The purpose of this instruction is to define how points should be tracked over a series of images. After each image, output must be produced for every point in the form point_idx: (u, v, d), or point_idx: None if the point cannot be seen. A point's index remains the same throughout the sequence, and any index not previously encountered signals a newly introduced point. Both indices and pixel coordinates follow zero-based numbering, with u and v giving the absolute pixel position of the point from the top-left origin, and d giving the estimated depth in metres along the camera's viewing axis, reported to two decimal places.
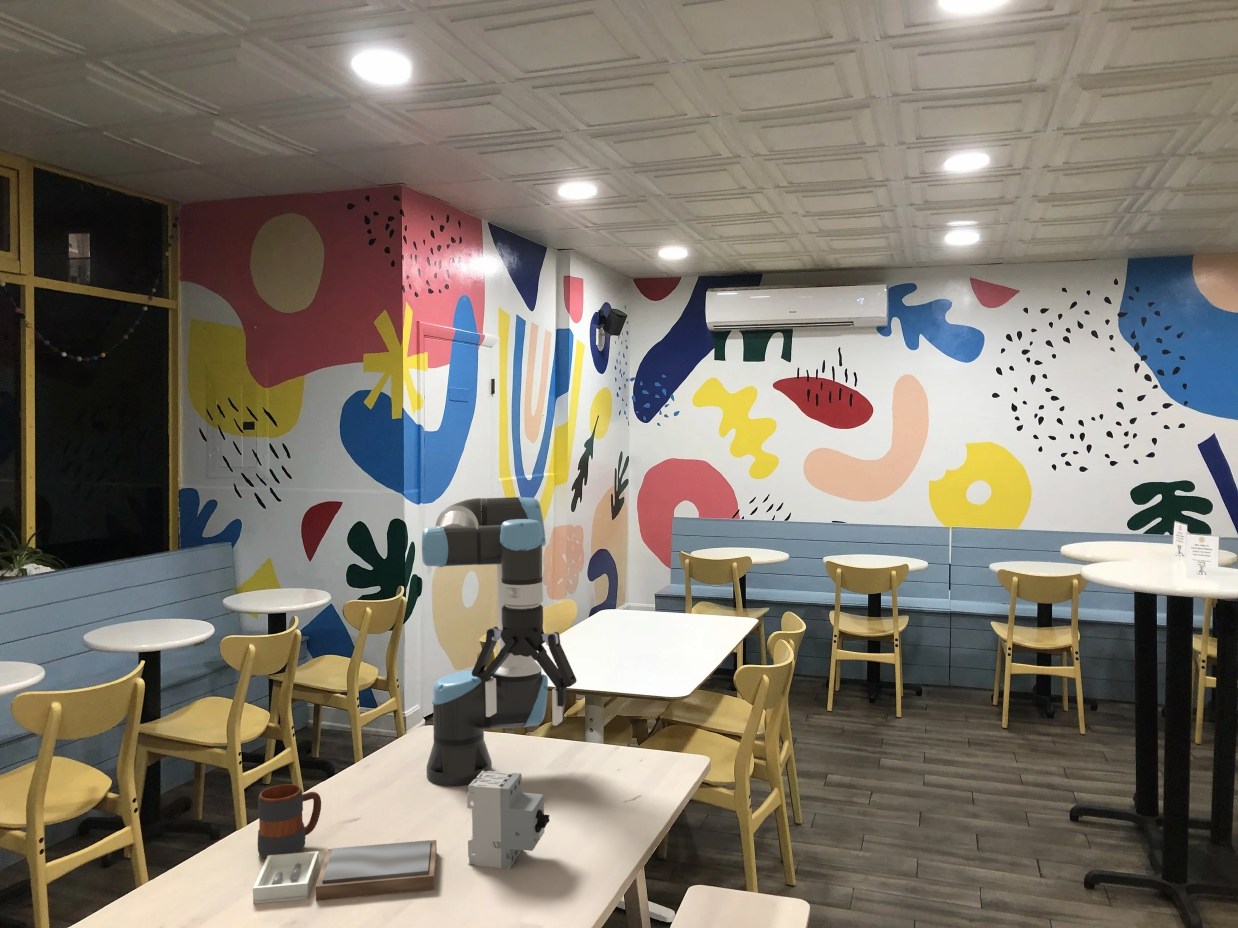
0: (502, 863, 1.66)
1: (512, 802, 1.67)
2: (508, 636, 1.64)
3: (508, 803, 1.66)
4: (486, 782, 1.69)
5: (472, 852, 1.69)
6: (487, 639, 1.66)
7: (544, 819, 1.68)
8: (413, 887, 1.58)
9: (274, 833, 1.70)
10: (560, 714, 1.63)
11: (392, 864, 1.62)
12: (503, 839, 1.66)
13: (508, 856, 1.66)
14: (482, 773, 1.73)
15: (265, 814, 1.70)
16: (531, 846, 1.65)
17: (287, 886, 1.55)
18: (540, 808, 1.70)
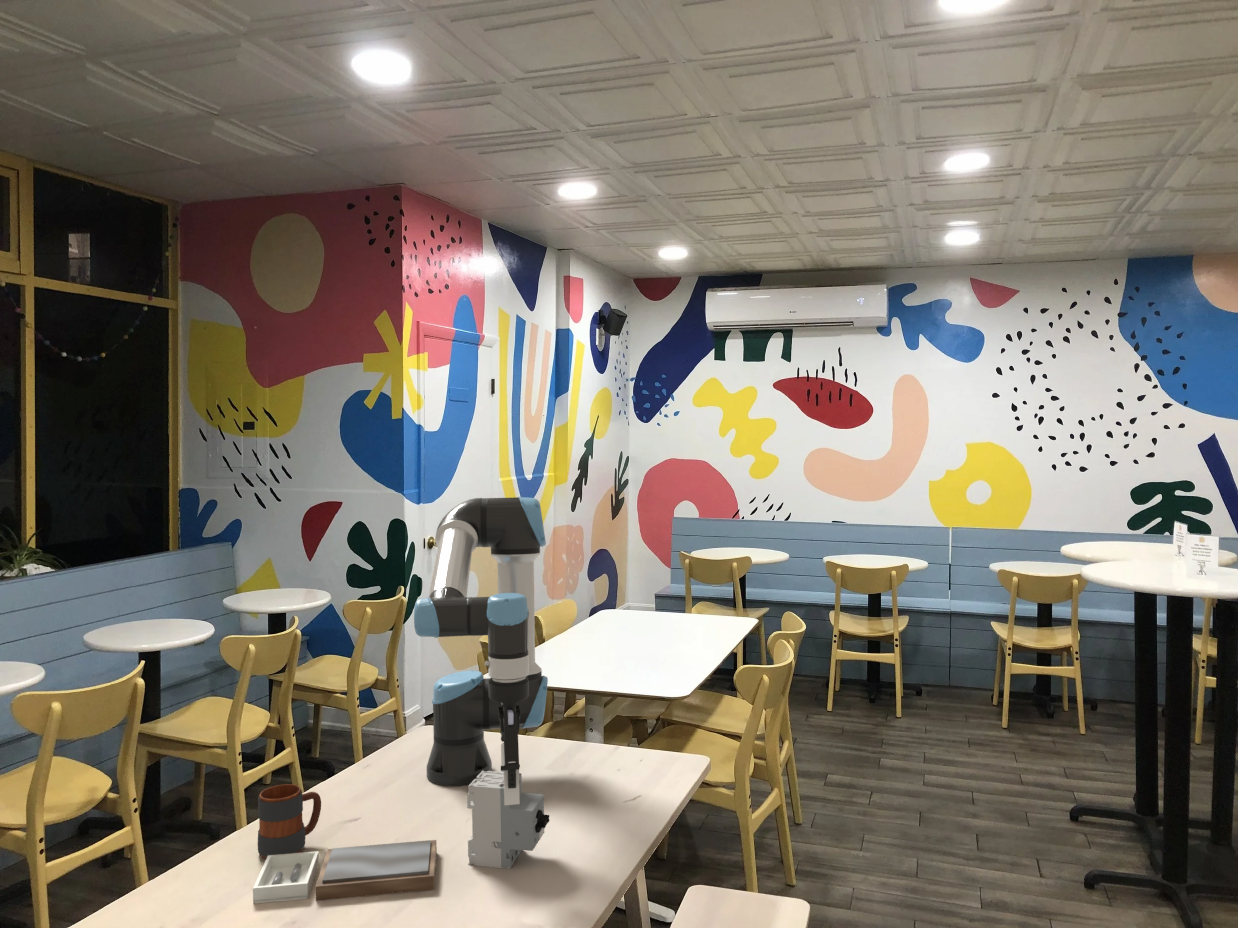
0: (502, 863, 1.66)
1: None
2: (502, 704, 1.71)
3: None
4: (486, 782, 1.69)
5: (472, 852, 1.69)
6: None
7: (544, 819, 1.68)
8: (413, 887, 1.58)
9: (274, 833, 1.70)
10: (514, 796, 1.62)
11: (392, 864, 1.62)
12: (503, 839, 1.66)
13: (508, 856, 1.66)
14: (482, 773, 1.73)
15: (265, 814, 1.70)
16: (531, 846, 1.65)
17: (287, 886, 1.55)
18: (540, 808, 1.70)
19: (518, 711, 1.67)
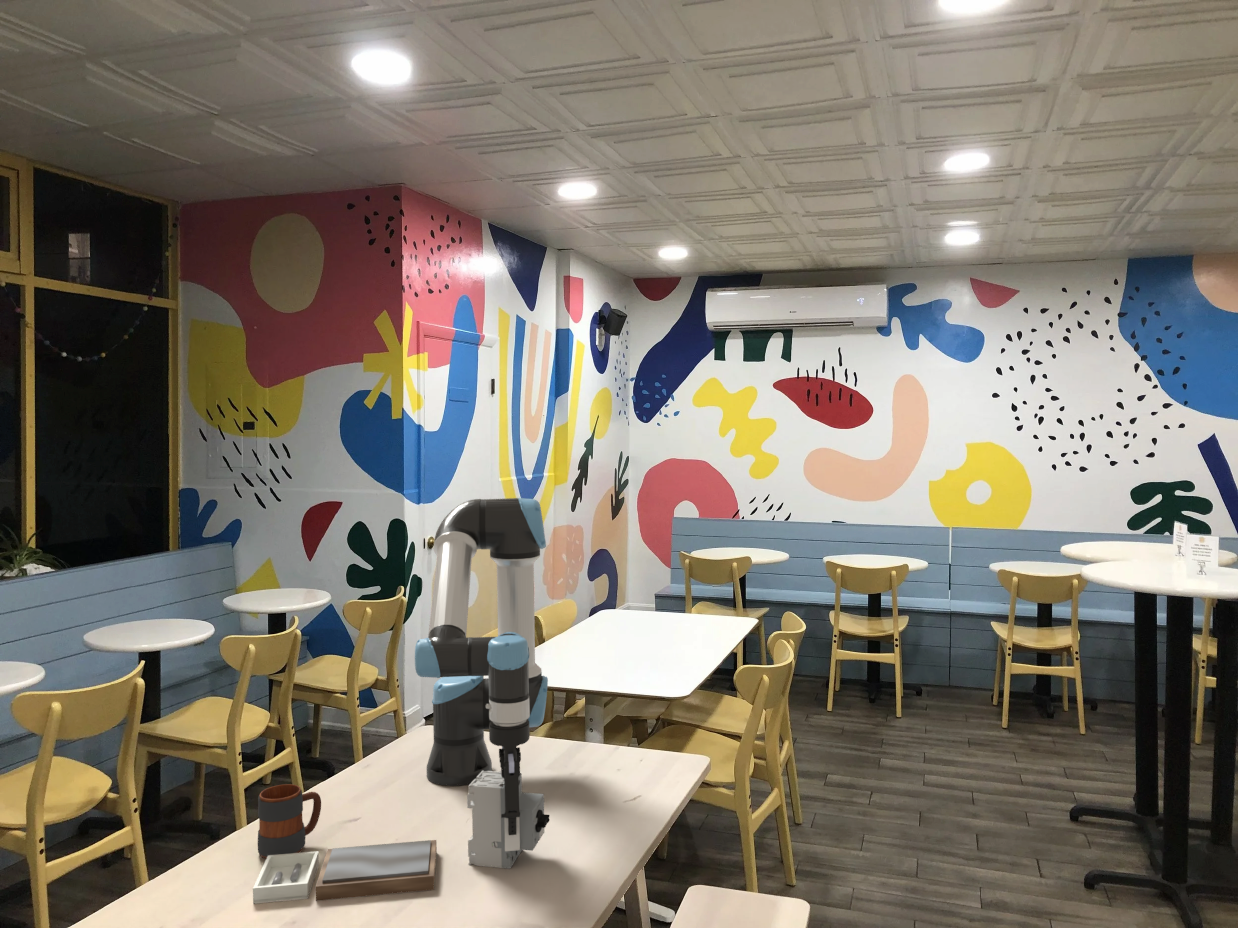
0: (502, 863, 1.66)
1: None
2: None
3: None
4: (486, 782, 1.69)
5: (472, 852, 1.69)
6: None
7: (544, 819, 1.68)
8: (413, 887, 1.58)
9: (274, 833, 1.70)
10: (515, 842, 1.65)
11: (392, 864, 1.62)
12: (503, 839, 1.66)
13: (508, 856, 1.66)
14: (482, 773, 1.73)
15: (265, 814, 1.70)
16: (531, 846, 1.65)
17: (287, 886, 1.55)
18: (540, 808, 1.70)
19: (519, 755, 1.68)
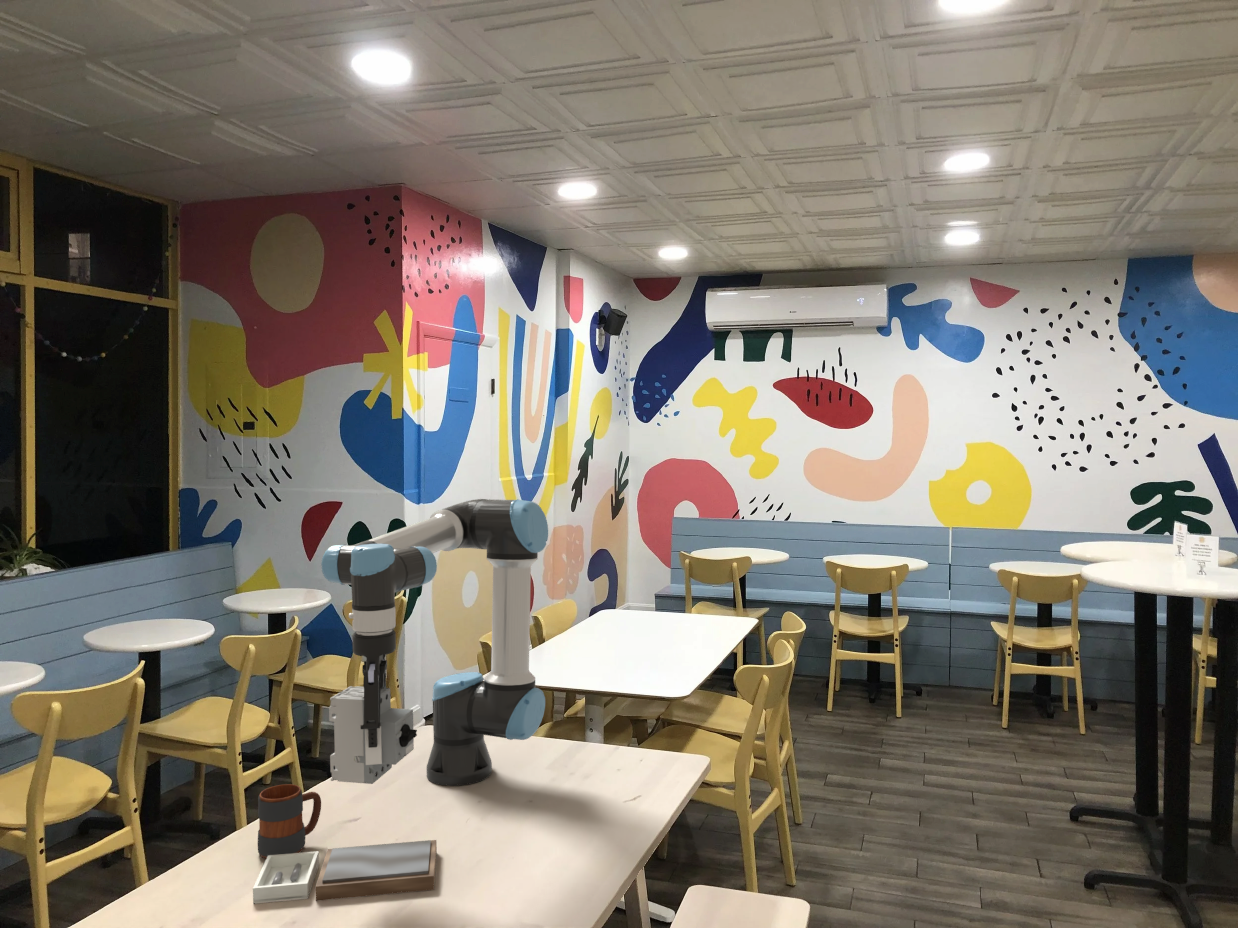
0: (365, 778, 1.59)
1: None
2: None
3: None
4: (350, 695, 1.62)
5: (336, 768, 1.62)
6: None
7: (410, 733, 1.61)
8: (413, 887, 1.58)
9: (274, 833, 1.70)
10: (376, 756, 1.58)
11: (392, 864, 1.62)
12: None
13: (371, 771, 1.60)
14: (349, 688, 1.66)
15: (265, 814, 1.70)
16: (394, 760, 1.58)
17: (287, 886, 1.55)
18: (407, 723, 1.63)
19: (383, 666, 1.61)
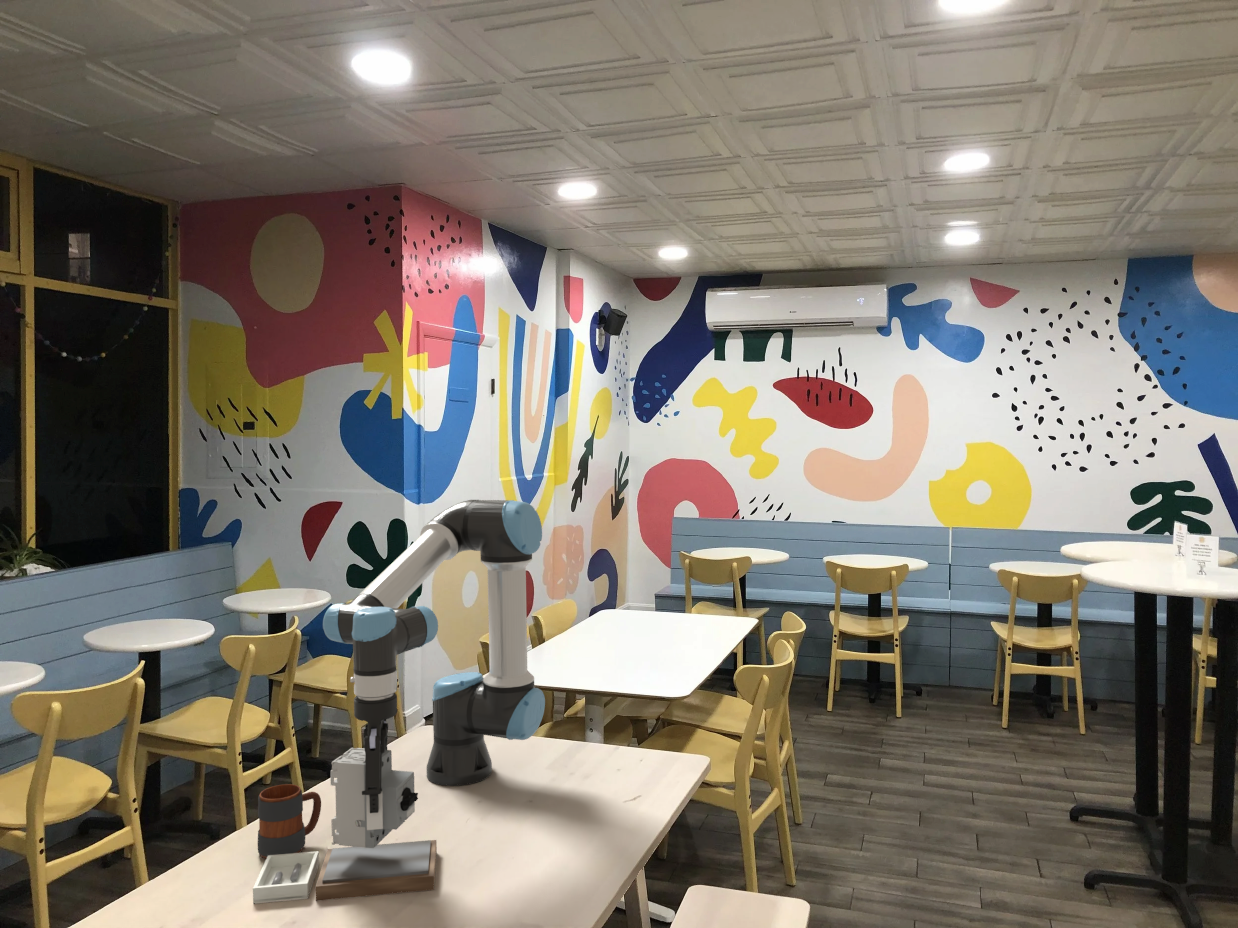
0: (366, 842, 1.60)
1: None
2: None
3: None
4: (351, 759, 1.62)
5: (337, 831, 1.63)
6: None
7: (411, 797, 1.61)
8: (413, 887, 1.58)
9: (274, 833, 1.70)
10: (377, 821, 1.58)
11: (392, 864, 1.62)
12: None
13: (372, 835, 1.60)
14: (351, 750, 1.67)
15: (265, 814, 1.70)
16: (395, 825, 1.59)
17: (287, 886, 1.55)
18: (408, 786, 1.63)
19: (384, 730, 1.61)
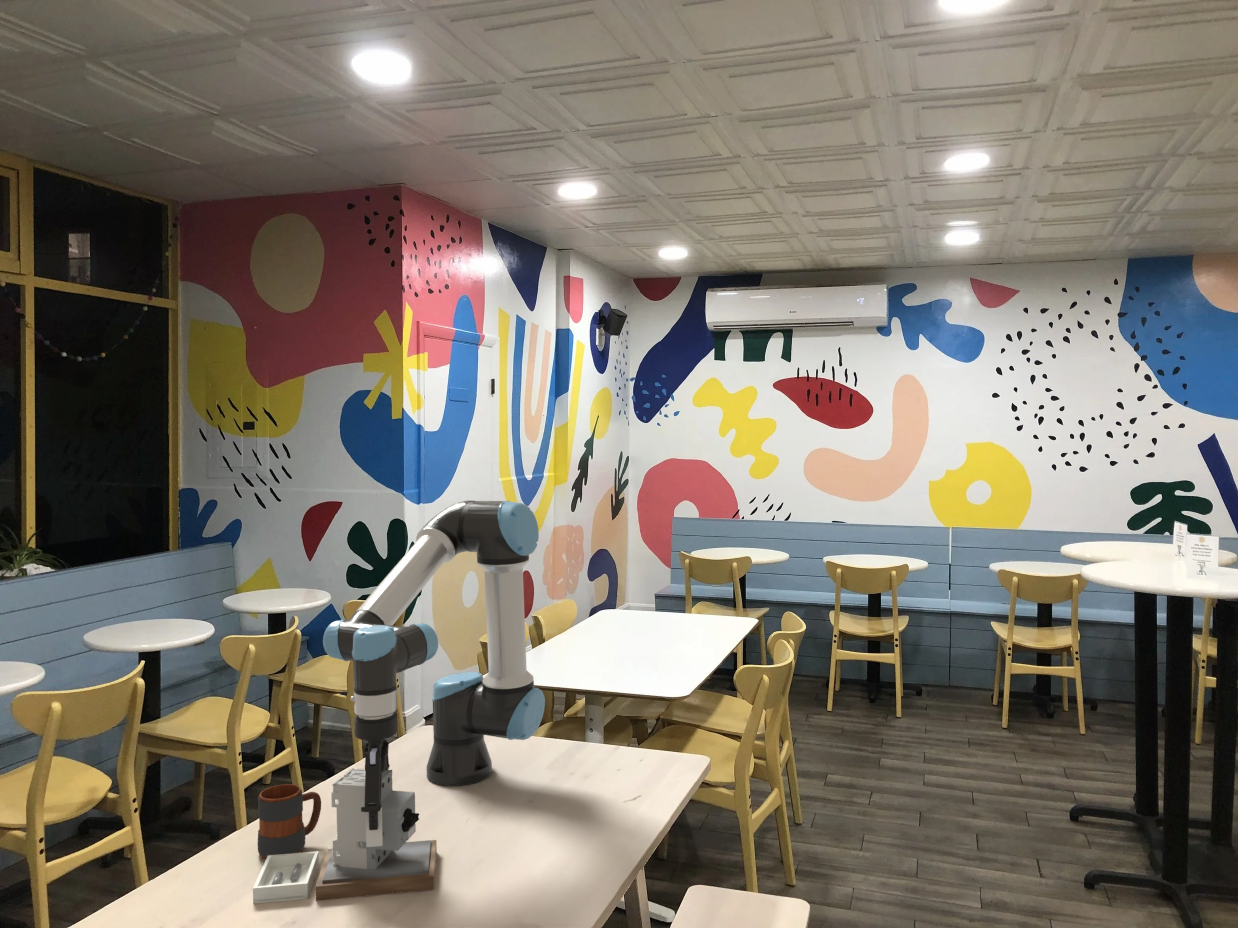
0: (368, 864, 1.60)
1: None
2: None
3: None
4: (352, 780, 1.63)
5: (338, 852, 1.63)
6: None
7: (412, 818, 1.62)
8: (413, 887, 1.58)
9: (274, 833, 1.70)
10: (377, 838, 1.57)
11: (392, 864, 1.62)
12: None
13: (374, 856, 1.60)
14: (351, 771, 1.67)
15: (265, 814, 1.70)
16: (397, 846, 1.59)
17: (287, 886, 1.55)
18: (409, 806, 1.64)
19: (385, 748, 1.61)
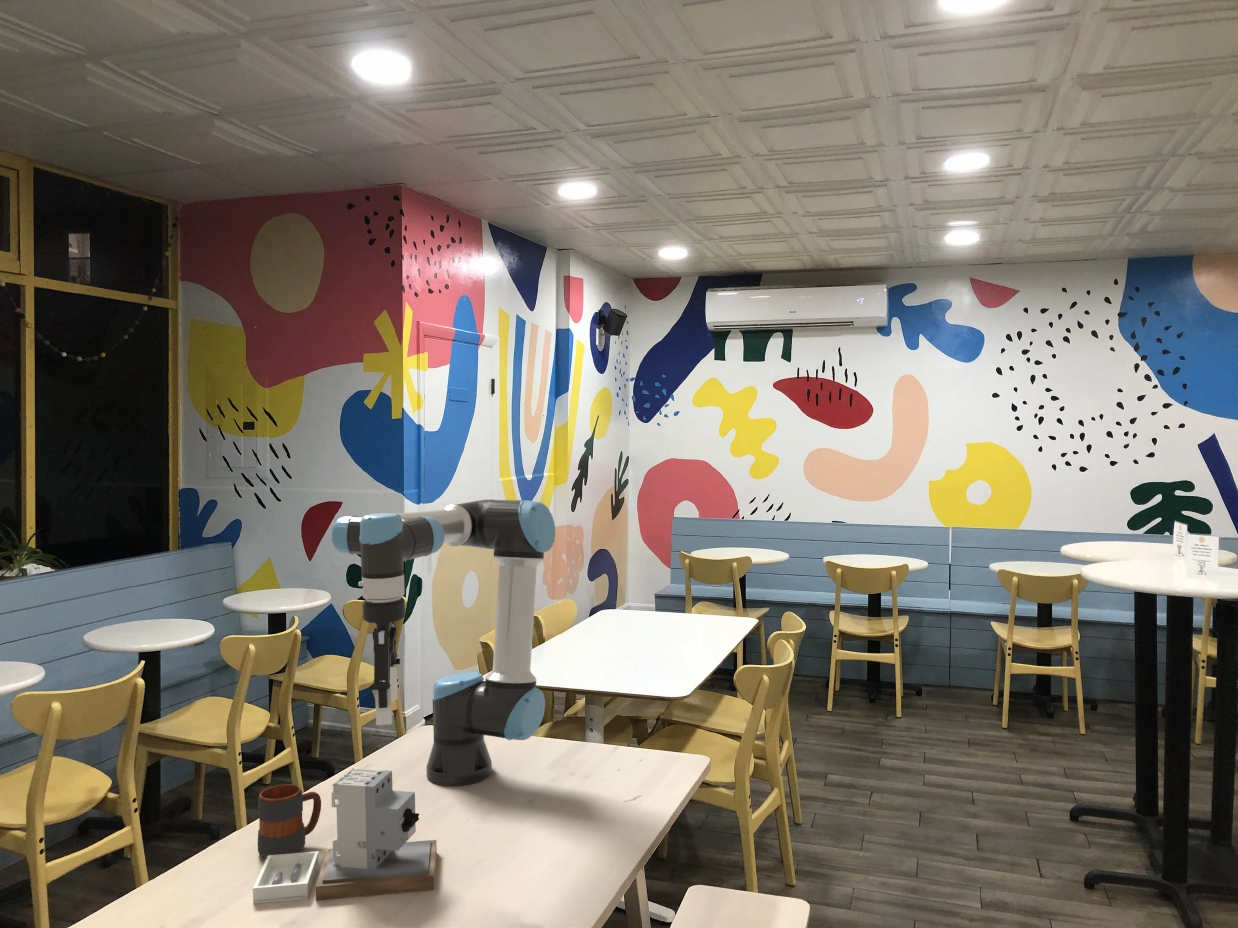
0: (368, 864, 1.60)
1: (378, 800, 1.61)
2: None
3: (373, 801, 1.60)
4: (352, 780, 1.63)
5: (338, 852, 1.63)
6: None
7: (412, 818, 1.62)
8: (413, 887, 1.58)
9: (274, 833, 1.70)
10: (386, 716, 1.59)
11: (392, 864, 1.62)
12: (368, 839, 1.60)
13: (374, 856, 1.60)
14: (351, 771, 1.67)
15: (265, 814, 1.70)
16: (397, 846, 1.59)
17: (287, 886, 1.55)
18: (409, 806, 1.64)
19: (393, 632, 1.64)
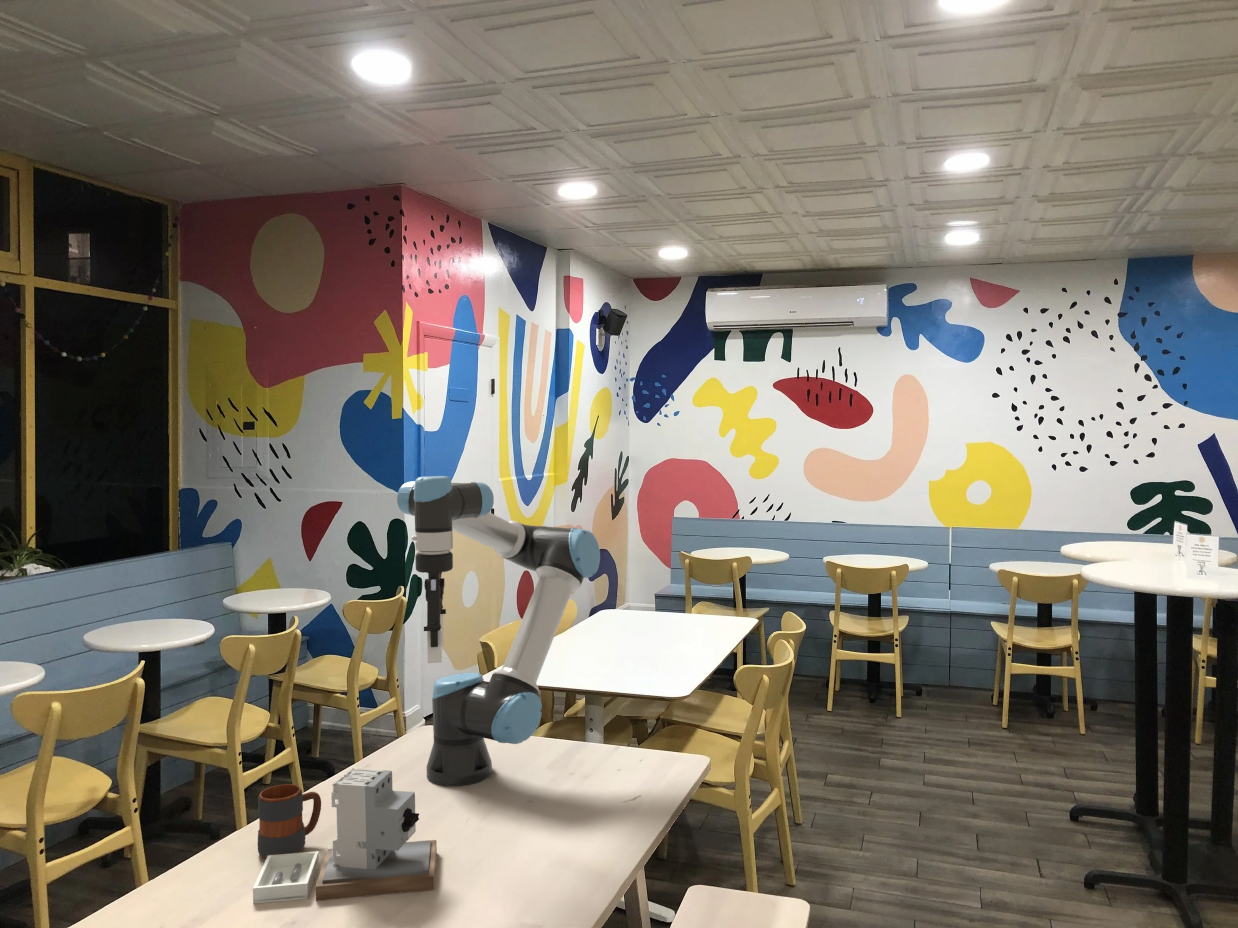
0: (368, 864, 1.60)
1: (379, 800, 1.61)
2: None
3: (373, 801, 1.60)
4: (352, 780, 1.63)
5: (338, 852, 1.63)
6: None
7: (412, 818, 1.62)
8: (413, 887, 1.58)
9: (274, 833, 1.70)
10: (437, 655, 1.79)
11: (392, 864, 1.62)
12: (368, 839, 1.60)
13: (374, 856, 1.60)
14: (351, 771, 1.67)
15: (265, 814, 1.70)
16: (397, 846, 1.59)
17: (287, 886, 1.55)
18: (409, 806, 1.64)
19: (442, 581, 1.84)
